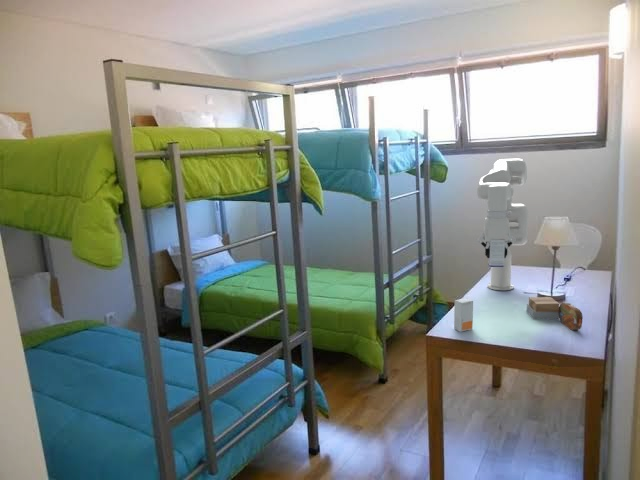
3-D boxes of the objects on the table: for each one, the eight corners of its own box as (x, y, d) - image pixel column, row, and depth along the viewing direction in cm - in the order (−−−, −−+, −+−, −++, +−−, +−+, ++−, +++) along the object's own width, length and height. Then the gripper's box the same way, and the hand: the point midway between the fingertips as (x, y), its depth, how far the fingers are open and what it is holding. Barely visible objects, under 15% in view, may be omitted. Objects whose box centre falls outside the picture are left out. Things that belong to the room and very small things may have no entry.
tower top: (528, 305, 207) (529, 297, 207) (550, 305, 206) (550, 297, 206) (535, 312, 198) (536, 303, 198) (558, 311, 198) (559, 303, 197)
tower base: (526, 312, 209) (526, 304, 208) (551, 312, 207) (551, 304, 207) (532, 320, 199) (533, 312, 199) (558, 320, 198) (559, 312, 197)
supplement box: (504, 267, 199) (505, 239, 197) (489, 267, 200) (489, 240, 198) (502, 263, 205) (502, 237, 203) (487, 263, 206) (487, 237, 204)
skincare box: (461, 332, 188) (461, 302, 186) (453, 328, 192) (454, 300, 190) (473, 329, 191) (473, 300, 189) (466, 326, 195) (466, 297, 192)
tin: (557, 319, 197) (558, 299, 196) (565, 319, 197) (566, 299, 196) (574, 333, 182) (576, 312, 181) (583, 333, 182) (584, 311, 181)
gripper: (516, 213, 201) (515, 255, 204) (473, 214, 204) (473, 255, 207) (521, 215, 193) (519, 259, 197) (476, 216, 196) (476, 259, 200)
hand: (496, 257), depth 202 cm, fingers closed on supplement box, 5 cm apart
